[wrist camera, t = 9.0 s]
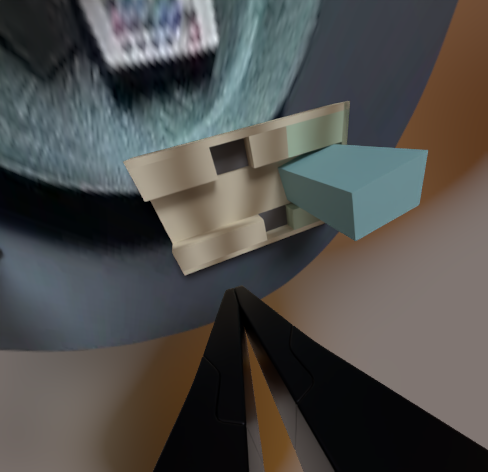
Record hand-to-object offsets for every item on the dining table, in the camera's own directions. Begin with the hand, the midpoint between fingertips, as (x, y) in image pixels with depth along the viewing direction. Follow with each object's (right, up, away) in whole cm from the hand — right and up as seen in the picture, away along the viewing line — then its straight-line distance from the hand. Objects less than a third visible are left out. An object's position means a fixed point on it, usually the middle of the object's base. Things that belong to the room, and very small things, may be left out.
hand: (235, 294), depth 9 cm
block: (+7, +10, +12) cm, 17 cm away
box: (+1, +8, +12) cm, 14 cm away
